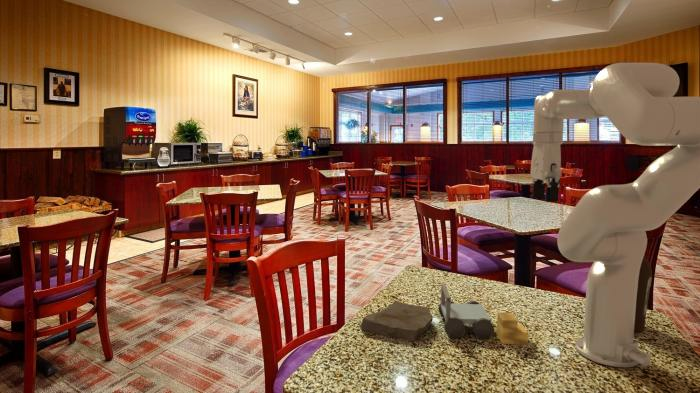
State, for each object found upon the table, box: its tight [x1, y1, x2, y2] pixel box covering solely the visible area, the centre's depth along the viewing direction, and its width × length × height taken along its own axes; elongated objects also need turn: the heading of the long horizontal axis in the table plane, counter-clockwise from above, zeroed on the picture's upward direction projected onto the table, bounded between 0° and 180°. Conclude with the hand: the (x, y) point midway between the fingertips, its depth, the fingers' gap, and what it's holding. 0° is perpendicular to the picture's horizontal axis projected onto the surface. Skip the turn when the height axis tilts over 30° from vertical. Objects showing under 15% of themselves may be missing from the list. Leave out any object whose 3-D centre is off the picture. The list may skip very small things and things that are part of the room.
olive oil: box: [634, 256, 653, 334], centre depth 105 cm, size 11×11×25 cm
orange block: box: [496, 312, 529, 345], centre depth 99 cm, size 6×4×6 cm
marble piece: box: [360, 301, 434, 342], centre depth 108 cm, size 17×15×4 cm
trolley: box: [438, 283, 495, 340], centre depth 106 cm, size 12×13×10 cm
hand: (544, 199), depth 115 cm, fingers open, 9 cm apart
